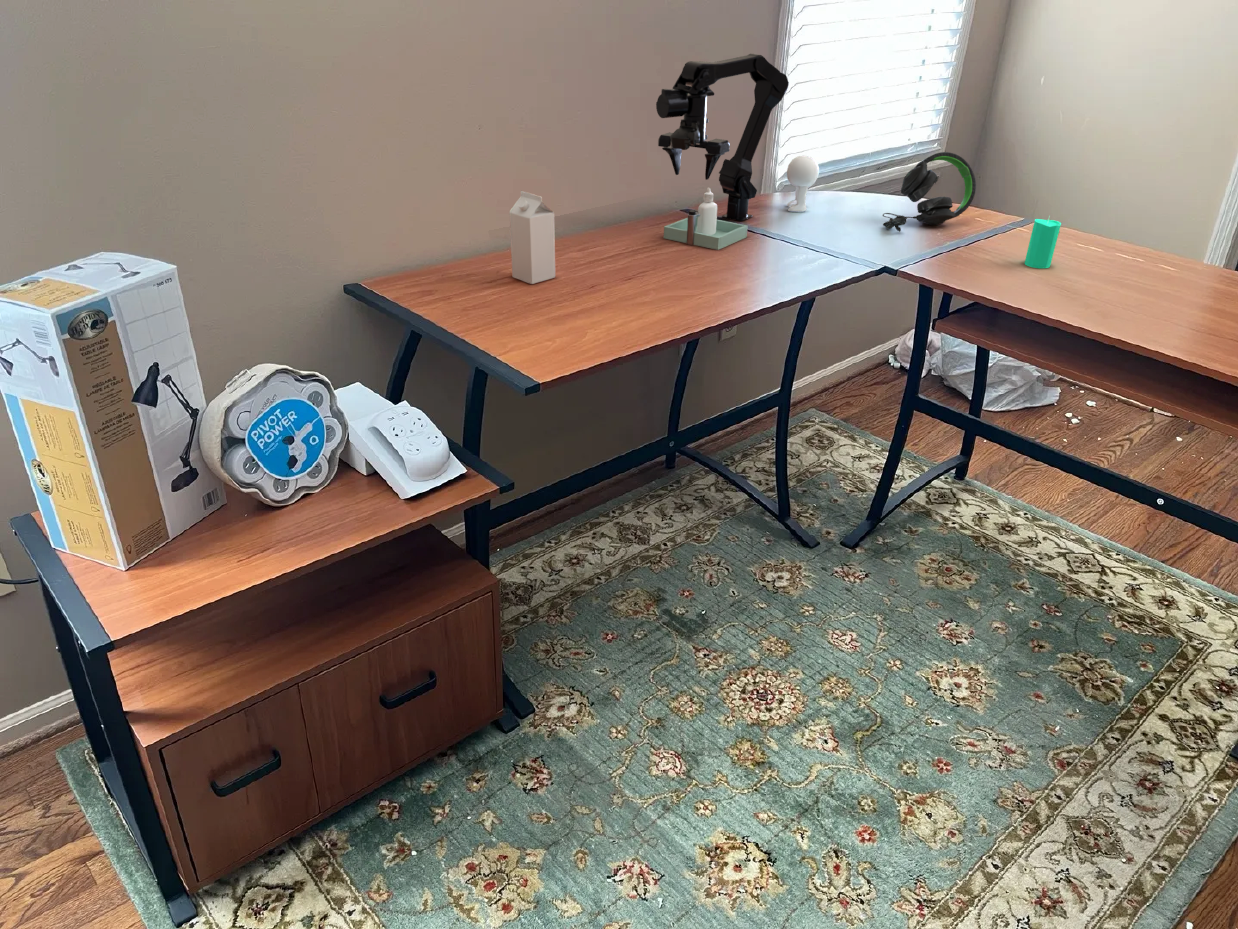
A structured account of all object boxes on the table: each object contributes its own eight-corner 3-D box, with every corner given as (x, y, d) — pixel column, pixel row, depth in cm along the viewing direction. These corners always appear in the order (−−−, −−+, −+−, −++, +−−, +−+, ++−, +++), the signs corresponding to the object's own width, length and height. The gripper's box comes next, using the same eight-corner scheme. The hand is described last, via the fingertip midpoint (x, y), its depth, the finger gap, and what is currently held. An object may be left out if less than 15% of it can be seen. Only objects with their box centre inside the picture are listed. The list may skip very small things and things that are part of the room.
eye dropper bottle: (693, 232, 240) (695, 186, 234) (713, 231, 241) (716, 185, 235) (698, 237, 237) (701, 190, 231) (719, 236, 238) (722, 189, 232)
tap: (692, 240, 236) (694, 207, 232) (700, 242, 235) (702, 209, 231) (684, 243, 233) (686, 211, 229) (691, 245, 232) (693, 212, 228)
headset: (893, 257, 254) (975, 200, 256) (915, 249, 241) (1002, 189, 243) (859, 202, 252) (943, 144, 253) (880, 191, 238) (968, 131, 240)
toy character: (782, 204, 270) (787, 151, 262) (813, 205, 269) (819, 152, 261) (783, 212, 262) (789, 158, 254) (815, 213, 261) (822, 159, 253)
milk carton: (535, 270, 213) (533, 188, 203) (555, 278, 209) (554, 194, 199) (512, 277, 209) (508, 193, 199) (531, 285, 204) (528, 199, 195)
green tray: (693, 226, 248) (694, 214, 246) (746, 237, 239) (747, 225, 238) (663, 238, 238) (663, 226, 236) (718, 250, 229) (718, 237, 228)
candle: (1020, 264, 222) (1032, 215, 216) (1029, 259, 225) (1041, 210, 219) (1044, 270, 218) (1057, 220, 212) (1054, 264, 222) (1067, 215, 216)
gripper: (647, 115, 233) (646, 177, 241) (710, 123, 224) (707, 187, 232) (670, 109, 241) (668, 170, 249) (732, 117, 232) (728, 179, 240)
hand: (691, 176), depth 242 cm, fingers open, 9 cm apart
